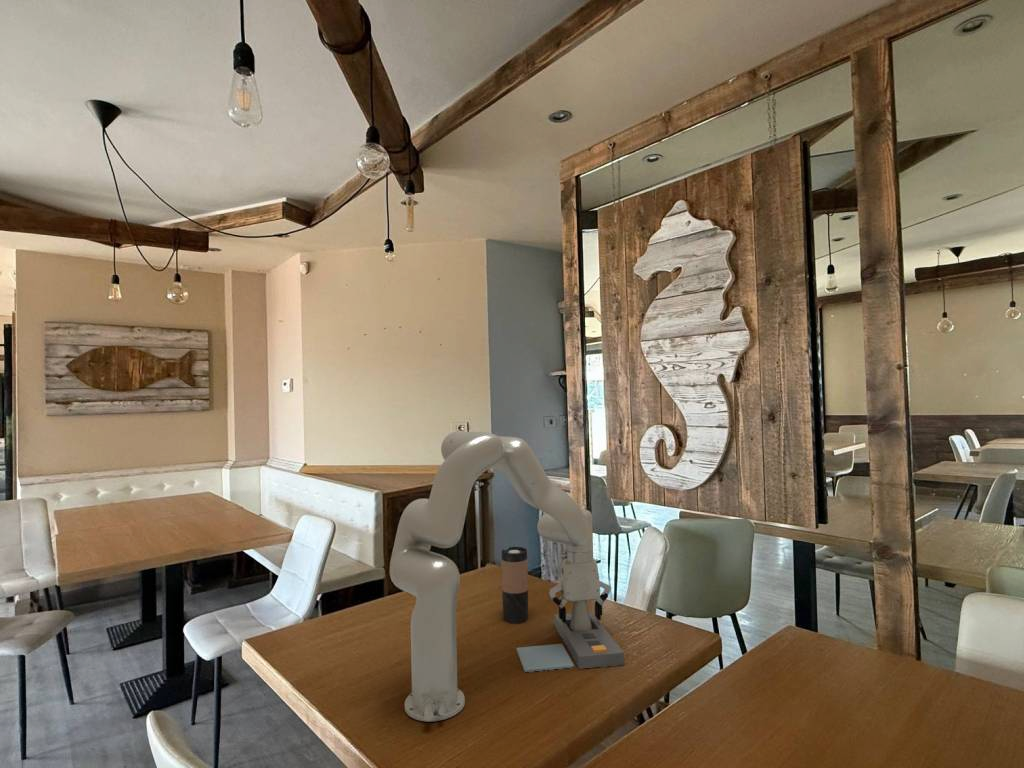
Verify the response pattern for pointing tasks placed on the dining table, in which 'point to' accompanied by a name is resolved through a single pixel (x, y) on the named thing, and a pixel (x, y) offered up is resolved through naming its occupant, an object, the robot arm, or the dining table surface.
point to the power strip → (590, 644)
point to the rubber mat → (544, 657)
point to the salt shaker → (580, 617)
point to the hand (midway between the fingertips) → (580, 619)
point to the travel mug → (515, 585)
